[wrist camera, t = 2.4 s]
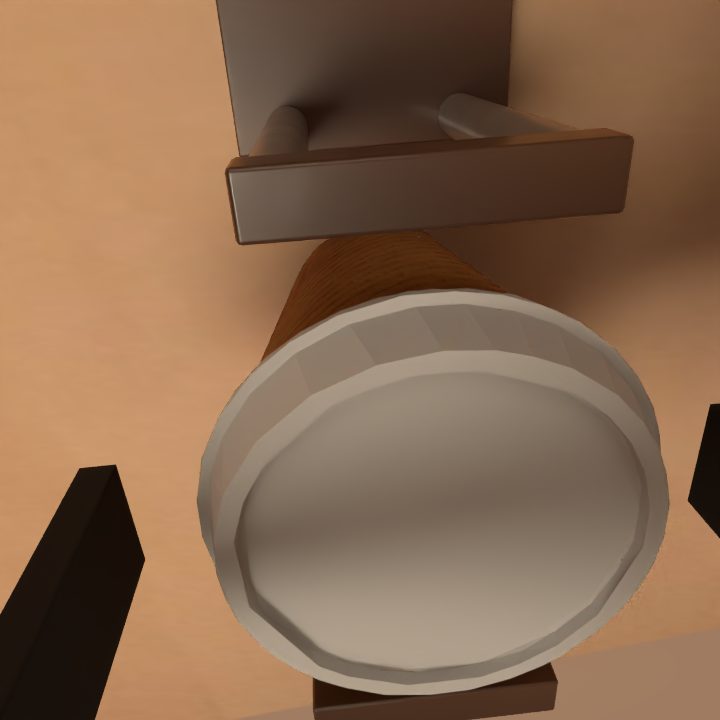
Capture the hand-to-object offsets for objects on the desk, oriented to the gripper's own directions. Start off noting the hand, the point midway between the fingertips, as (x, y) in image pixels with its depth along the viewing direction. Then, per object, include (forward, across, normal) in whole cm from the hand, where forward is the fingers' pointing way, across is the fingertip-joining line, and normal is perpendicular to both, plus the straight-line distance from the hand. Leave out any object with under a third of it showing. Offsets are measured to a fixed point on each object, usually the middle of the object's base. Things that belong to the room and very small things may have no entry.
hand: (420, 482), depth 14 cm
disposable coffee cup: (+10, 0, 0) cm, 10 cm away
